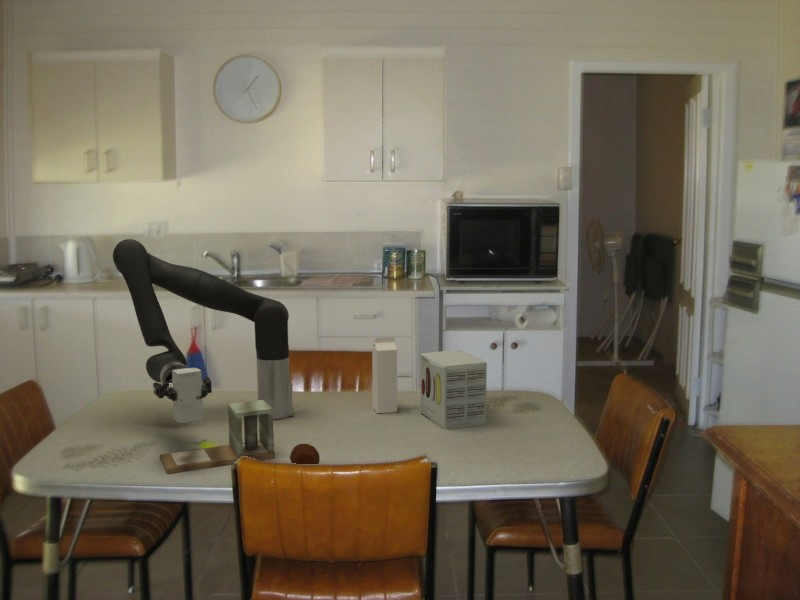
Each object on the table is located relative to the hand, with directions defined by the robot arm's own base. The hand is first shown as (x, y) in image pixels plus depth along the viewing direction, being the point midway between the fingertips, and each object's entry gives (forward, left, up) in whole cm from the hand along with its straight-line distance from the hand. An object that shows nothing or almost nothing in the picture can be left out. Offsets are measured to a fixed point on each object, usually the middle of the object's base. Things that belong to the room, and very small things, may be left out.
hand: (189, 395), depth 195 cm
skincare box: (0, -2, -7) cm, 7 cm away
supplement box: (-75, -7, -18) cm, 77 cm away
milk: (-61, -23, -18) cm, 67 cm away
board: (-7, -2, -17) cm, 19 cm away
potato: (-24, +14, -18) cm, 33 cm away
